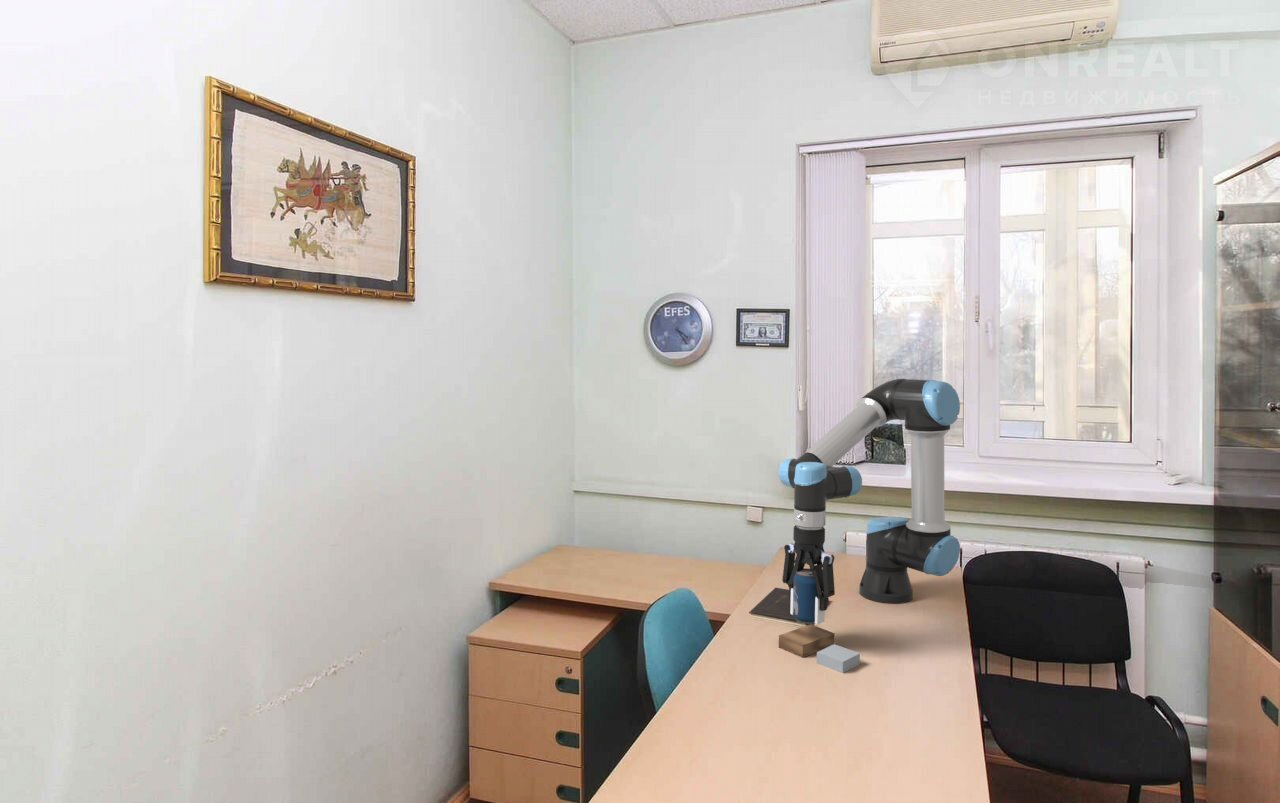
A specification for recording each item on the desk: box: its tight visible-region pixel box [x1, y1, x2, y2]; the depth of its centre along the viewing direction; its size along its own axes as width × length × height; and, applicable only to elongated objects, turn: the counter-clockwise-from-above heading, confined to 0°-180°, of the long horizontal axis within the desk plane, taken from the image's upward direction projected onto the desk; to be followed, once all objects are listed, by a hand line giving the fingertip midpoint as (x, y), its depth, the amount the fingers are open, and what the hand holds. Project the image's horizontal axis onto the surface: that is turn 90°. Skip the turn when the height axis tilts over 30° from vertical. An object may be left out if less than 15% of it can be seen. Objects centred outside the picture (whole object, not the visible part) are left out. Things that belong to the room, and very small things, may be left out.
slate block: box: [816, 643, 861, 674], centre depth 174 cm, size 7×7×3 cm
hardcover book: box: [748, 587, 830, 628], centre depth 209 cm, size 16×23×2 cm
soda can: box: [793, 567, 818, 625], centre depth 183 cm, size 7×7×12 cm
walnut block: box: [778, 624, 835, 658], centre depth 184 cm, size 12×8×3 cm, turn 128°
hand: (807, 617), depth 183 cm, fingers closed on soda can, 7 cm apart
